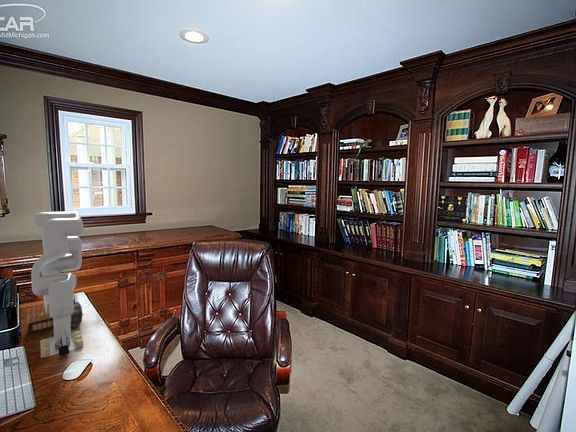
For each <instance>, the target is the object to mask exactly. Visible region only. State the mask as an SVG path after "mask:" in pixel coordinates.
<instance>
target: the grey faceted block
mask: <svg viewBox="0 0 576 432" xmlns="http://www.w3.org/2000/svg"><path fill="white" fill-rule="evenodd" d="M68 343H69V346H70V340H68ZM58 345H59V342H57V343H55V349H56V350H59V348H58Z"/></svg>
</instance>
